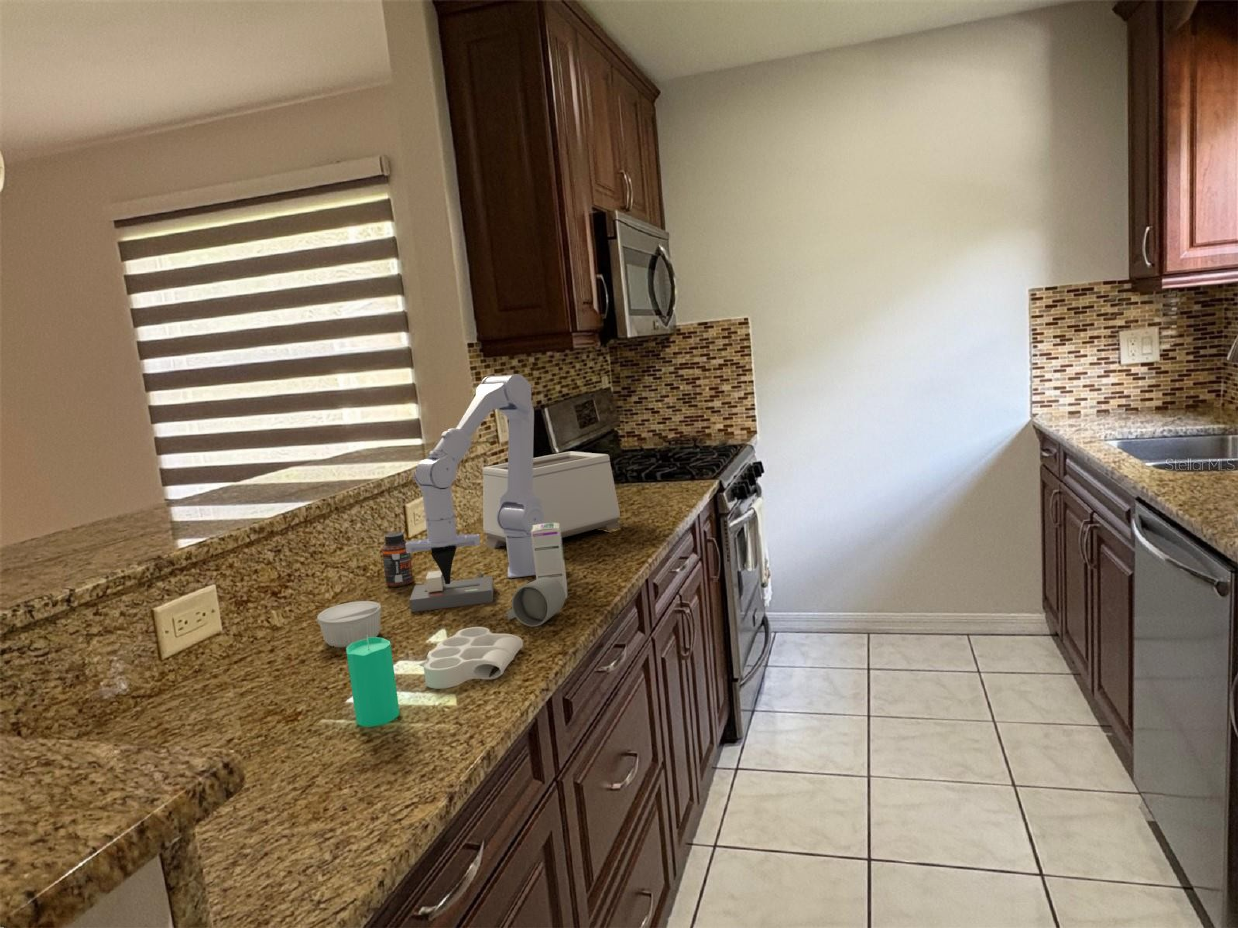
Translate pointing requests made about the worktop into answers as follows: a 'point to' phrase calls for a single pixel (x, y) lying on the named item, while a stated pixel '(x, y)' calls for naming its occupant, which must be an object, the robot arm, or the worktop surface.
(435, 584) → the breaker knob
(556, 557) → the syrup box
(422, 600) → the panel
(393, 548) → the supplement bottle
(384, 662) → the candle
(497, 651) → the white multi-cup tray
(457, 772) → the worktop surface
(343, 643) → the ramekin
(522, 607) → the ceramic mug
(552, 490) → the toaster
